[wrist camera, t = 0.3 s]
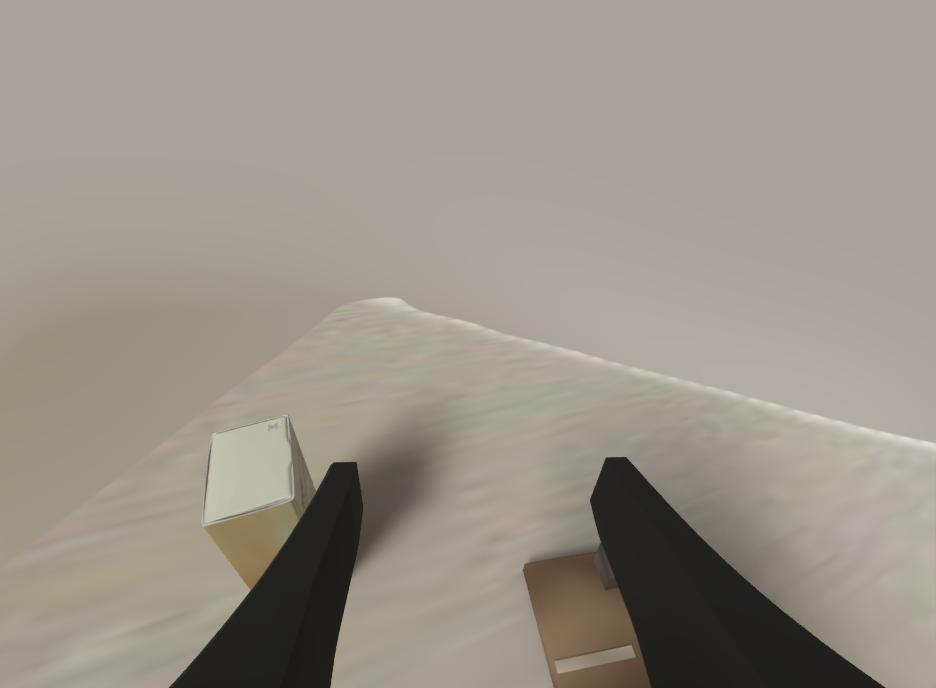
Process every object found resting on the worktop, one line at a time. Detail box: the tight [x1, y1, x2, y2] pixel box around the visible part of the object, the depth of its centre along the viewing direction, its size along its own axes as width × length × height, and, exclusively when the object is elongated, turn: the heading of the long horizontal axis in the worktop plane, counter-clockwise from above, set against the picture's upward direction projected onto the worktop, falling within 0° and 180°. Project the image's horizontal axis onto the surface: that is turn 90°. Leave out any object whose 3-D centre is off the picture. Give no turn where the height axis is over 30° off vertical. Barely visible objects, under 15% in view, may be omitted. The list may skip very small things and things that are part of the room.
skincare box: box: [202, 415, 316, 590], centre depth 25 cm, size 6×4×12 cm
